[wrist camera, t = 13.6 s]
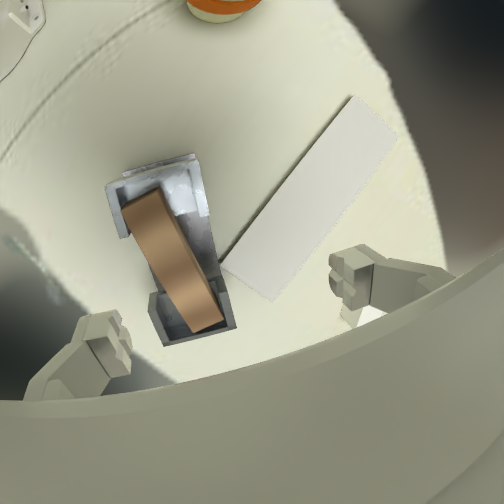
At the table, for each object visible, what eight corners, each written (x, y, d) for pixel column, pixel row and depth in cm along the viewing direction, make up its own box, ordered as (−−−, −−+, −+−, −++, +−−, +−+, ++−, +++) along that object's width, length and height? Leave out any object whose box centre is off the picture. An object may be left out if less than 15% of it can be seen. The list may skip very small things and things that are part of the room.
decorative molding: (221, 257, 46) (269, 291, 48) (219, 265, 41) (272, 302, 43) (344, 101, 40) (385, 140, 42) (354, 94, 36) (399, 136, 38)
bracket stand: (124, 171, 34) (101, 185, 23) (193, 153, 36) (200, 157, 25) (163, 298, 43) (162, 348, 32) (223, 283, 44) (239, 328, 34)
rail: (127, 202, 27) (120, 211, 24) (159, 185, 28) (157, 191, 24) (190, 313, 34) (193, 332, 31) (218, 301, 35) (224, 319, 31)
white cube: (369, 287, 54) (387, 301, 48) (362, 311, 56) (377, 326, 50) (347, 289, 52) (363, 305, 47) (339, 314, 54) (354, 331, 49)
